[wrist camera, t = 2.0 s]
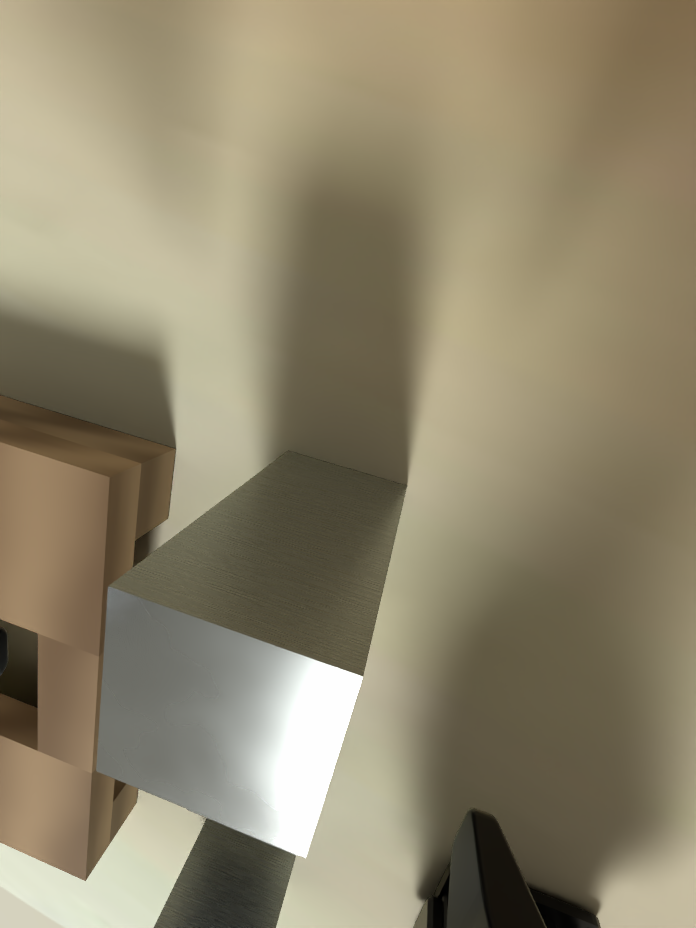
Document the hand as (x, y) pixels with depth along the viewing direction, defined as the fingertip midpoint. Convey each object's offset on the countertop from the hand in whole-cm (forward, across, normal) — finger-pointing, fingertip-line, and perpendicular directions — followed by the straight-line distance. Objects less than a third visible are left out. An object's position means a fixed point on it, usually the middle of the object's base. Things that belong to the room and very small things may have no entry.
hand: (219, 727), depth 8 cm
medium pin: (+9, 0, +18) cm, 20 cm away
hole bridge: (+9, +12, +9) cm, 17 cm away
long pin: (+9, 0, 0) cm, 9 cm away
